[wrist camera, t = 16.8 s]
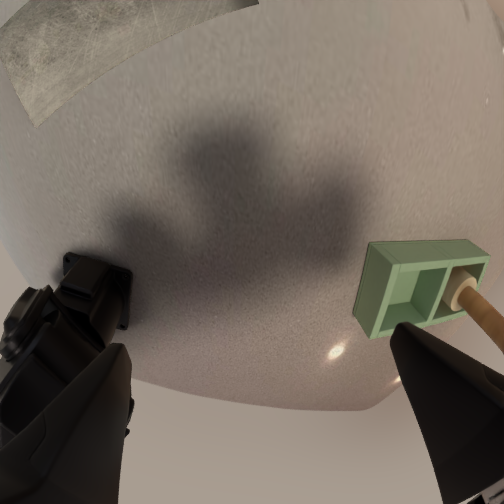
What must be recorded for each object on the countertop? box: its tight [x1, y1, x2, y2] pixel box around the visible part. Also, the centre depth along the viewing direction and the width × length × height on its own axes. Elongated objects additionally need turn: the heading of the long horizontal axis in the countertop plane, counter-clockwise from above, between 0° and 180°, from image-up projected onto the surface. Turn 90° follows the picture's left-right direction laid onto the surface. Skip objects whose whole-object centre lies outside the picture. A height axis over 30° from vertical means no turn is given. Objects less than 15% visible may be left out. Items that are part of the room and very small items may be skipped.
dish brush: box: [441, 266, 504, 354], centre depth 18 cm, size 4×4×13 cm
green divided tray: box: [353, 240, 491, 339], centre depth 22 cm, size 14×8×4 cm, turn 89°
